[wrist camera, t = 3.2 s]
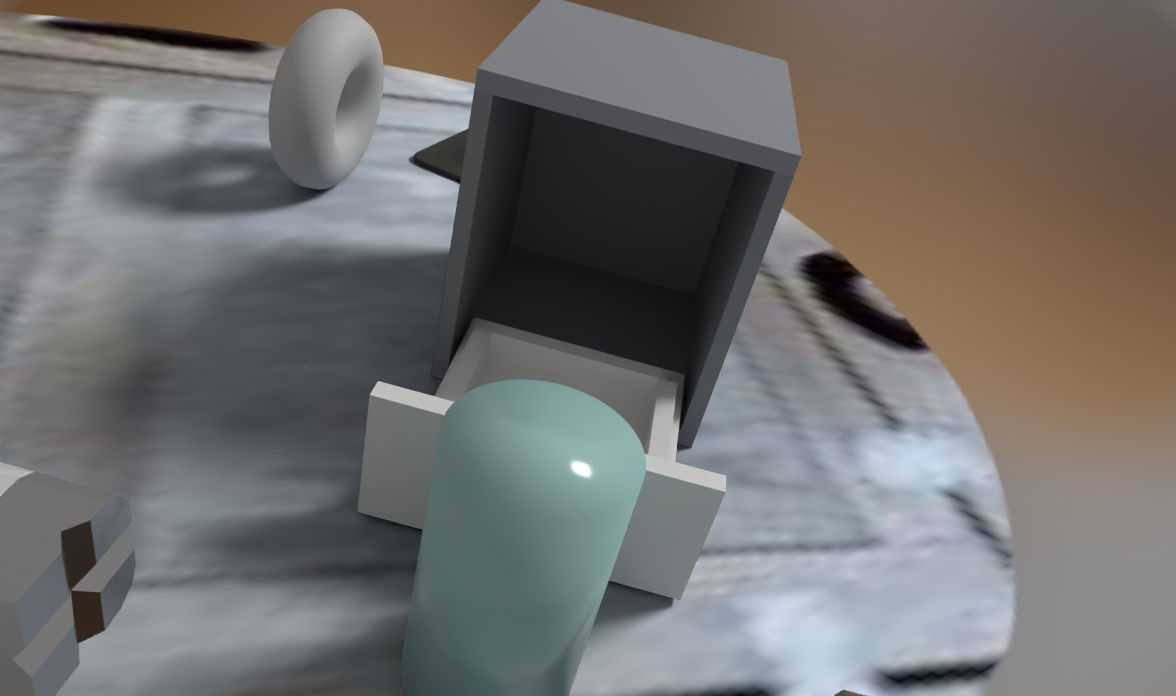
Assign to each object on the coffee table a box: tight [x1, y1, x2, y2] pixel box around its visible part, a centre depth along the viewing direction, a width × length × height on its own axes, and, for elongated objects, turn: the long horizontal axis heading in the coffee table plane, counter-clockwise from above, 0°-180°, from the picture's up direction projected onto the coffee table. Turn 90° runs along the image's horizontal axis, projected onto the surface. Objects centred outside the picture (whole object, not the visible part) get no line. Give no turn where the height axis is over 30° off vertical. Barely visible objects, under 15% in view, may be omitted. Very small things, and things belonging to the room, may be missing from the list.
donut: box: [268, 9, 384, 190], centre depth 50 cm, size 10×4×10 cm, turn 169°
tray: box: [357, 318, 726, 600], centre depth 35 cm, size 12×12×5 cm
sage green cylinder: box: [400, 379, 646, 696], centre depth 26 cm, size 5×5×10 cm
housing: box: [431, 0, 801, 448], centre depth 41 cm, size 13×12×14 cm
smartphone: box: [414, 129, 468, 181], centre depth 62 cm, size 8×15×1 cm, turn 155°
